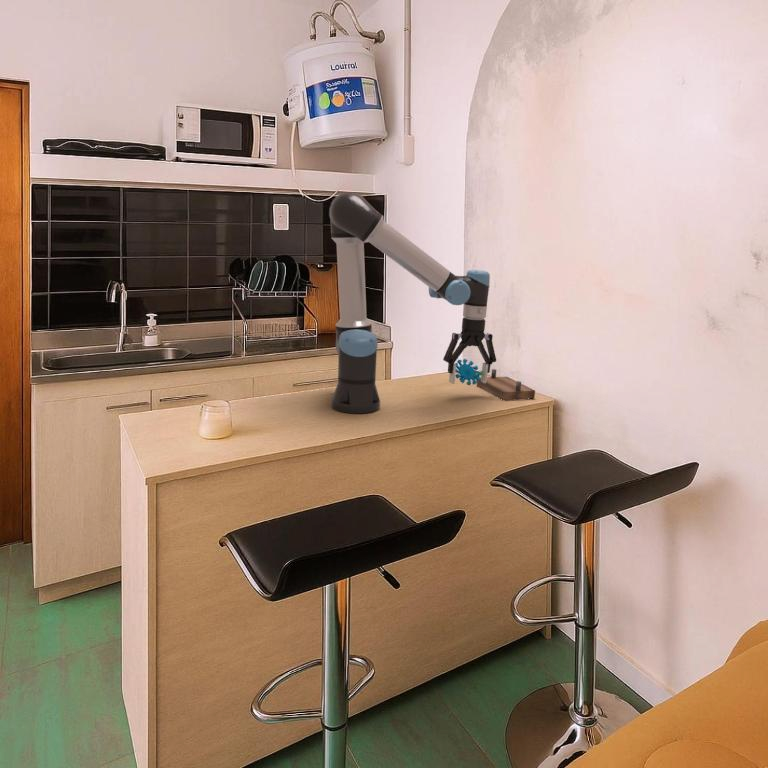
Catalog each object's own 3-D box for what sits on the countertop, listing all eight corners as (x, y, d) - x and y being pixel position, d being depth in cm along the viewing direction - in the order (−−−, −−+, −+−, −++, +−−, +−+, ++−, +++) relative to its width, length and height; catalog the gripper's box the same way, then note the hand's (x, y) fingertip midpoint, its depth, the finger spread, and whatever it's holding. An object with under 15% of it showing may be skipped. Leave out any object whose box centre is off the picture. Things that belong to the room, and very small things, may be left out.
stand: (502, 400, 225) (504, 383, 224) (476, 385, 244) (477, 369, 242) (534, 399, 229) (536, 382, 228) (506, 384, 247) (507, 368, 246)
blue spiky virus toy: (456, 381, 220) (453, 355, 226) (449, 390, 225) (445, 365, 230) (486, 385, 224) (482, 360, 229) (478, 394, 229) (474, 369, 234)
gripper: (445, 319, 214) (439, 385, 219) (511, 320, 221) (504, 384, 227) (436, 315, 221) (431, 380, 226) (500, 316, 228) (493, 379, 233)
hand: (467, 382), depth 226 cm, fingers closed on blue spiky virus toy, 11 cm apart
